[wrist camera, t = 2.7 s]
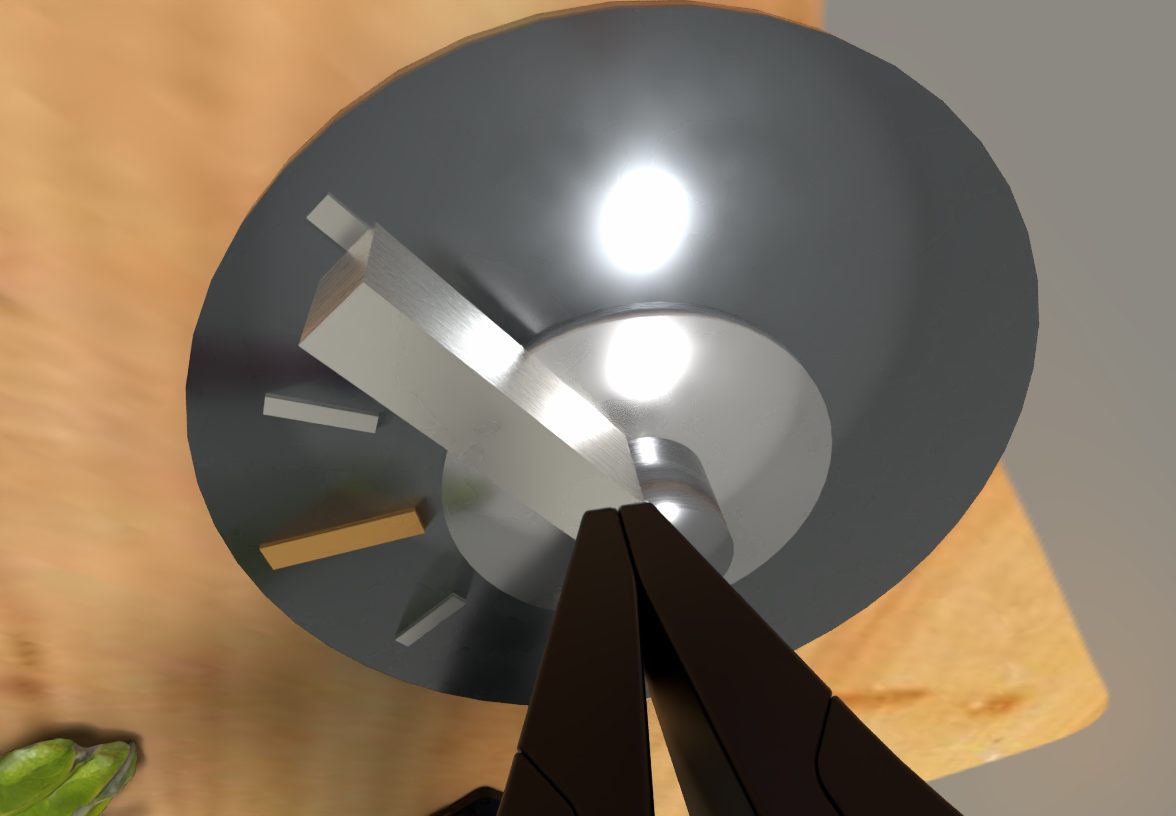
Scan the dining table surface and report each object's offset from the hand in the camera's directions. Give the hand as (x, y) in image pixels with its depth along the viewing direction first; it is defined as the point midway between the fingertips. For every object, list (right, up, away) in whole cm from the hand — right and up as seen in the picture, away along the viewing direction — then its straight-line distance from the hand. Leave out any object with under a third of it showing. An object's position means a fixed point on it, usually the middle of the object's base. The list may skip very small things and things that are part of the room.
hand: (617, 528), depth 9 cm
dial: (0, +1, +13) cm, 13 cm away
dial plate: (+1, 0, +15) cm, 15 cm away
